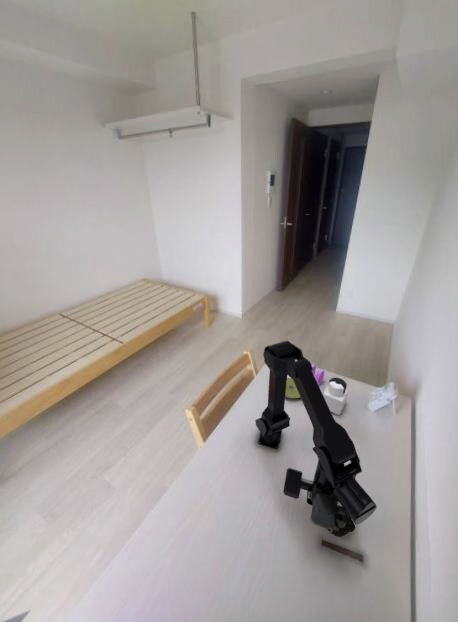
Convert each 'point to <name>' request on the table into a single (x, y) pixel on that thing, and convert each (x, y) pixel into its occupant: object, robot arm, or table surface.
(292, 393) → the olive green disc
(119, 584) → the table surface
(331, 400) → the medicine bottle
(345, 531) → the tape measure
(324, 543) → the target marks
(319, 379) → the bracket
